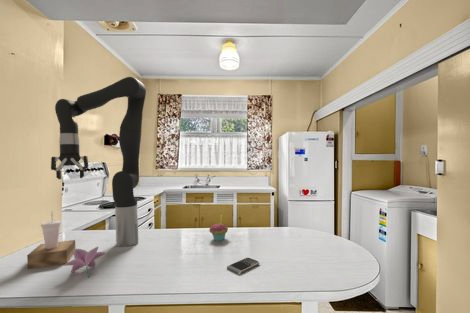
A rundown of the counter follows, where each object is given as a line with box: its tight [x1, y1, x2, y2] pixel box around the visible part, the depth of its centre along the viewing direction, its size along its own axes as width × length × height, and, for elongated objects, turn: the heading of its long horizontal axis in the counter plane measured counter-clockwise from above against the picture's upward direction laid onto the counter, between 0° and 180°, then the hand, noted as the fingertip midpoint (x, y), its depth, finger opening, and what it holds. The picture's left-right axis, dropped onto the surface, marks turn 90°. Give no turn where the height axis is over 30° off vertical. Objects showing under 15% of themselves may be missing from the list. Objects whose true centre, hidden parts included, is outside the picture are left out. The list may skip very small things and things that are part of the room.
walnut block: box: [26, 239, 76, 270], centre depth 96 cm, size 12×12×5 cm
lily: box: [63, 246, 108, 279], centre depth 83 cm, size 12×12×10 cm
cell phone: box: [226, 257, 260, 275], centre depth 85 cm, size 6×11×1 cm, turn 133°
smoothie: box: [40, 210, 62, 249], centre depth 95 cm, size 6×6×14 cm
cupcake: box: [208, 214, 229, 242], centre depth 114 cm, size 9×8×12 cm
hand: (70, 178), depth 113 cm, fingers open, 8 cm apart
